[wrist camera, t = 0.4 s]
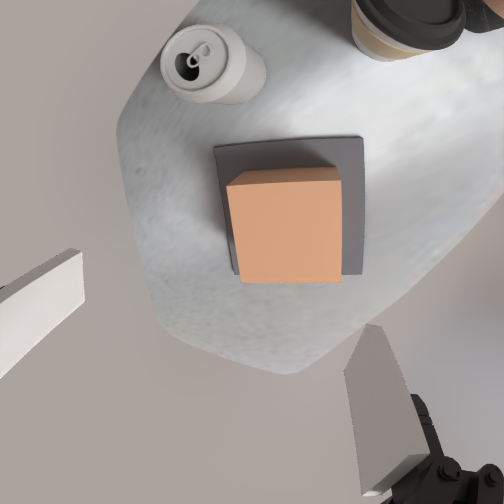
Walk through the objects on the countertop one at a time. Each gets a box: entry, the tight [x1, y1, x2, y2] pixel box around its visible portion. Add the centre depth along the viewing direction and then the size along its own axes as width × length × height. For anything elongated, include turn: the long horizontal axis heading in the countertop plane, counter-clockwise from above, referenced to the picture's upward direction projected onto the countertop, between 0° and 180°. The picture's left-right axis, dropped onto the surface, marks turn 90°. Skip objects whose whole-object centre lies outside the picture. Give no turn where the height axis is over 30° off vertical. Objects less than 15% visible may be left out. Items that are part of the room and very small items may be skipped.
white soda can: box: [160, 22, 267, 105], centre depth 24 cm, size 8×8×12 cm
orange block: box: [226, 167, 342, 283], centre depth 31 cm, size 11×11×7 cm
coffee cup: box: [351, 0, 466, 62], centre depth 16 cm, size 9×9×15 cm
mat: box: [214, 138, 365, 275], centre depth 35 cm, size 17×17×1 cm
